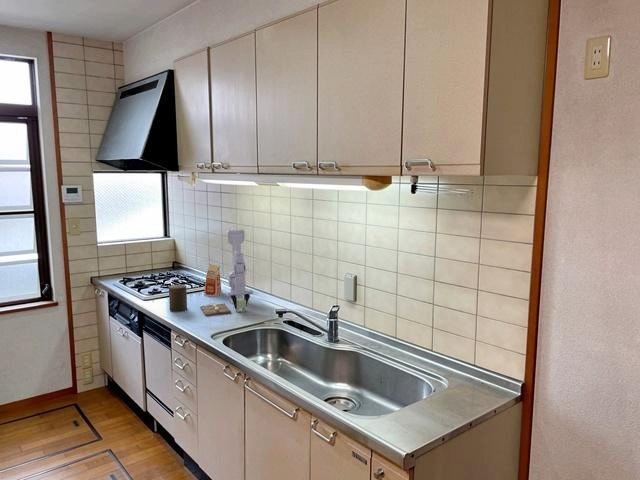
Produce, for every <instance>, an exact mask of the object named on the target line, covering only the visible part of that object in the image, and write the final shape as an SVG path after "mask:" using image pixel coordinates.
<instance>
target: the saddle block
mask: <svg viewBox="0 0 640 480" xmlns="http://www.w3.org/2000/svg"><path fill="white" fill-rule="evenodd" d="M236 305H237V309H235V308H234V310H235V311H236V312H237V313H240V309H242V311H243V312H246V311H247V307H246V300H245V299H244V297H243V298H240V299H237V300H236Z"/></svg>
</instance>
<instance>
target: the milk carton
mask: <svg viewBox="0 0 640 480" xmlns="http://www.w3.org/2000/svg"><path fill="white" fill-rule="evenodd" d="M208 265H209V266H208V268H207V271H206V276H205V281H204V282H205V284H204V297H218V296H220V295H222V283H221V280H222V279H221V273H220V267H221V266H220V265H217V264H212V263H208Z"/></svg>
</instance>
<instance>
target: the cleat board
mask: <svg viewBox="0 0 640 480" xmlns="http://www.w3.org/2000/svg"><path fill="white" fill-rule="evenodd" d="M200 310H201V312H203V313H202V314H204V317H209V316H210V317H211V316H218V315H226V314H227V315H228V314H231V313H232V312H231V310H230V309H229V307H228V306H227V305H226V304H225V303H219V304H216V303H215V302H214V303H211V304H209V305H202V306H201V305H200Z"/></svg>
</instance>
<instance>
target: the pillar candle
mask: <svg viewBox="0 0 640 480" xmlns="http://www.w3.org/2000/svg"><path fill="white" fill-rule="evenodd" d="M187 292H188V291H187V285H186V284H172V285H169V286H168V298H169V299H168V302H169V305H168V306H169V307H168V308H169V311H170V312H173V313H174V312H175V313H177V312H178V313H180V312H185V311H187V310H188V301H187V300H188V295H187Z"/></svg>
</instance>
